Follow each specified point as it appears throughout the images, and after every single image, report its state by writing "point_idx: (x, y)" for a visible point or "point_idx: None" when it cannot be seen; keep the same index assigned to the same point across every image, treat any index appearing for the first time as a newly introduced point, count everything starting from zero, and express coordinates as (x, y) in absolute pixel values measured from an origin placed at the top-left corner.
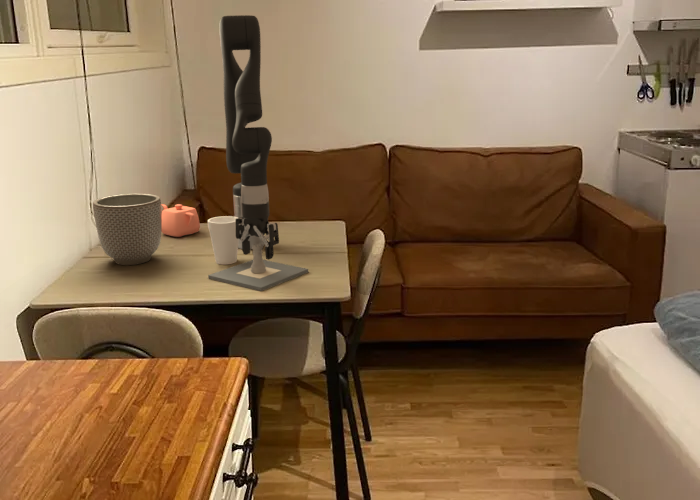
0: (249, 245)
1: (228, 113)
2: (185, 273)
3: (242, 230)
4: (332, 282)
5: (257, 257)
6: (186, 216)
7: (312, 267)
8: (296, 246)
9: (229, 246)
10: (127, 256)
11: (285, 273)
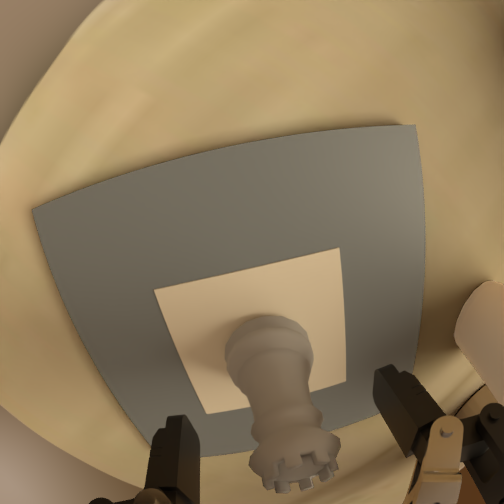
0: (394, 432)
1: None
2: (492, 125)
3: (487, 472)
4: (41, 421)
5: (260, 399)
6: None
7: (203, 471)
8: (382, 478)
9: (502, 349)
10: None
11: (157, 403)
